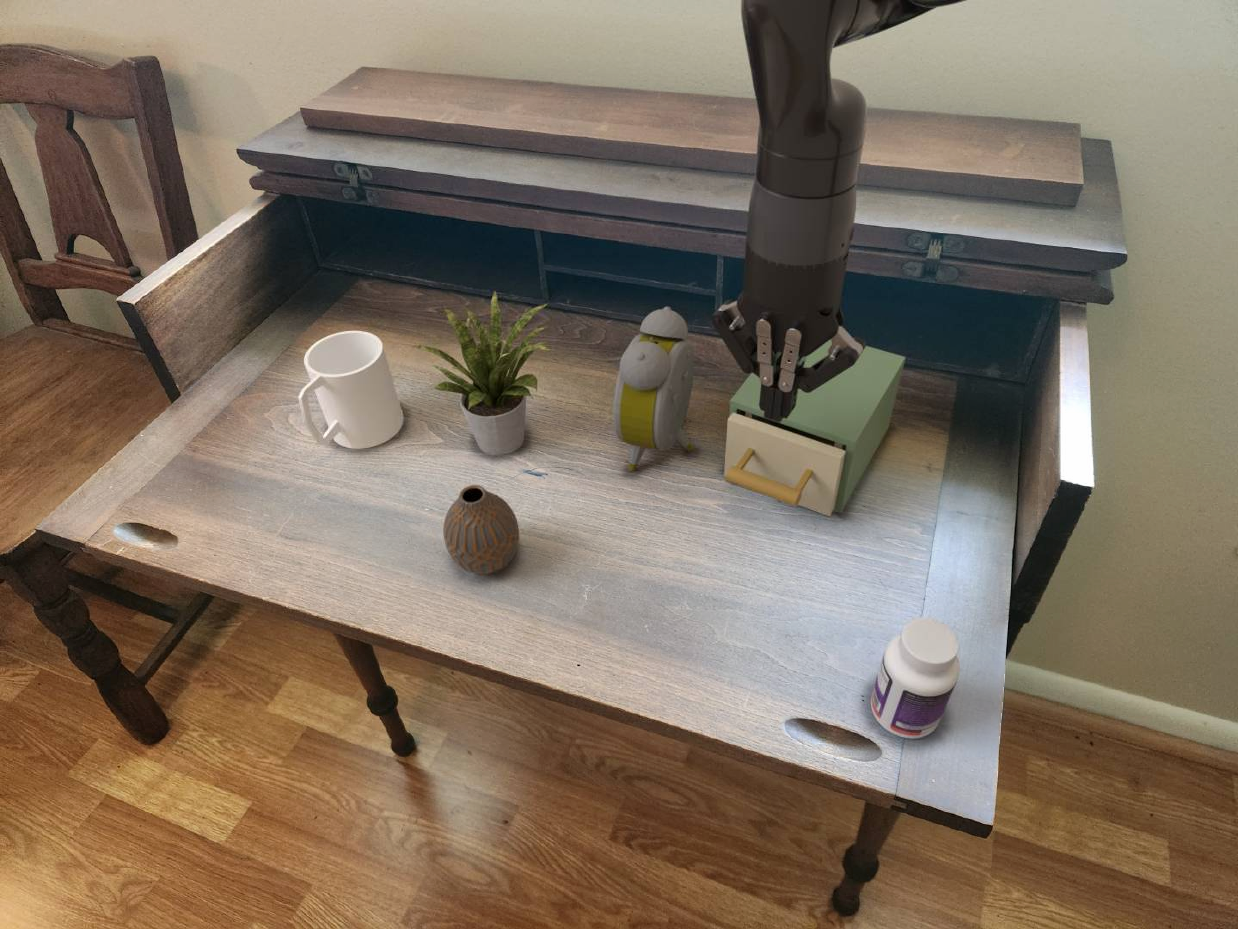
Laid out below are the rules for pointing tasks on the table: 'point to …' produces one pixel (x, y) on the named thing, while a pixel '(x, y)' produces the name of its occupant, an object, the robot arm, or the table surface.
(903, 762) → the table surface
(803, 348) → the robot arm
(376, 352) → the cup
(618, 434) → the alarm clock
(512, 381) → the house plant
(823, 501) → the drawer
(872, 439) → the cabinet
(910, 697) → the pill bottle
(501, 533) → the vase
